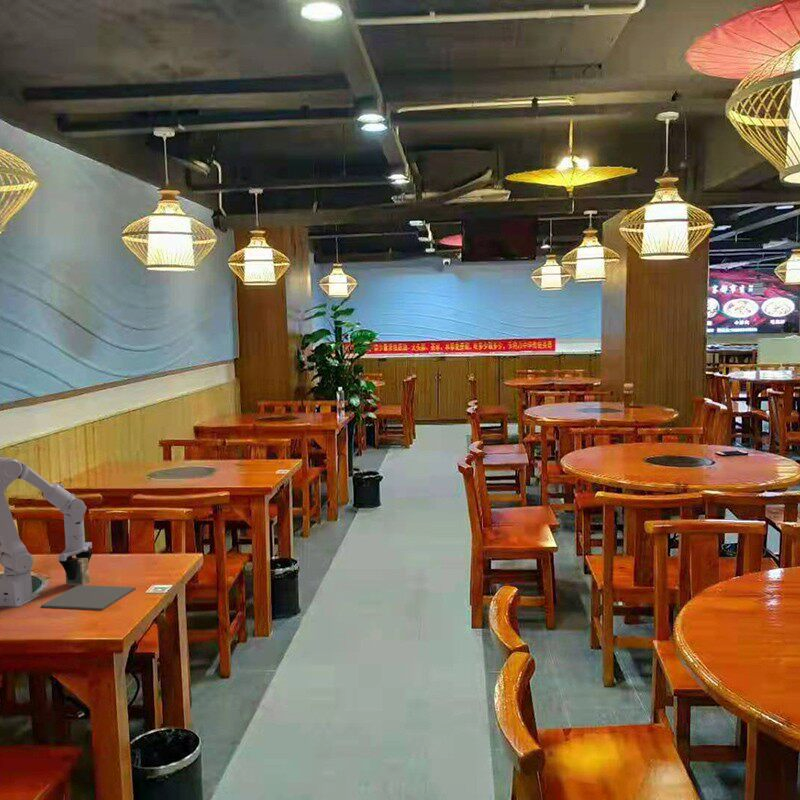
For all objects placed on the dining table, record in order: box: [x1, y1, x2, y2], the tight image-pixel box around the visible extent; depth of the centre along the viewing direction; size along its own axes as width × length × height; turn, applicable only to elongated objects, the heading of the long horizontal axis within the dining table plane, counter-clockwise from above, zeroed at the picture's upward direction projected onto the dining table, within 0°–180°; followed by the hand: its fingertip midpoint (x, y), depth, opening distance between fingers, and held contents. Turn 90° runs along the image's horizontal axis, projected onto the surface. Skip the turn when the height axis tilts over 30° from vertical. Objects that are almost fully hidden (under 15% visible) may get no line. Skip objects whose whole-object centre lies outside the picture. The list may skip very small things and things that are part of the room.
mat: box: [40, 584, 136, 611], centre depth 229 cm, size 18×20×1 cm
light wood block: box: [64, 557, 91, 587], centre depth 242 cm, size 4×6×8 cm, turn 79°
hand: (77, 576), depth 243 cm, fingers open, 6 cm apart
